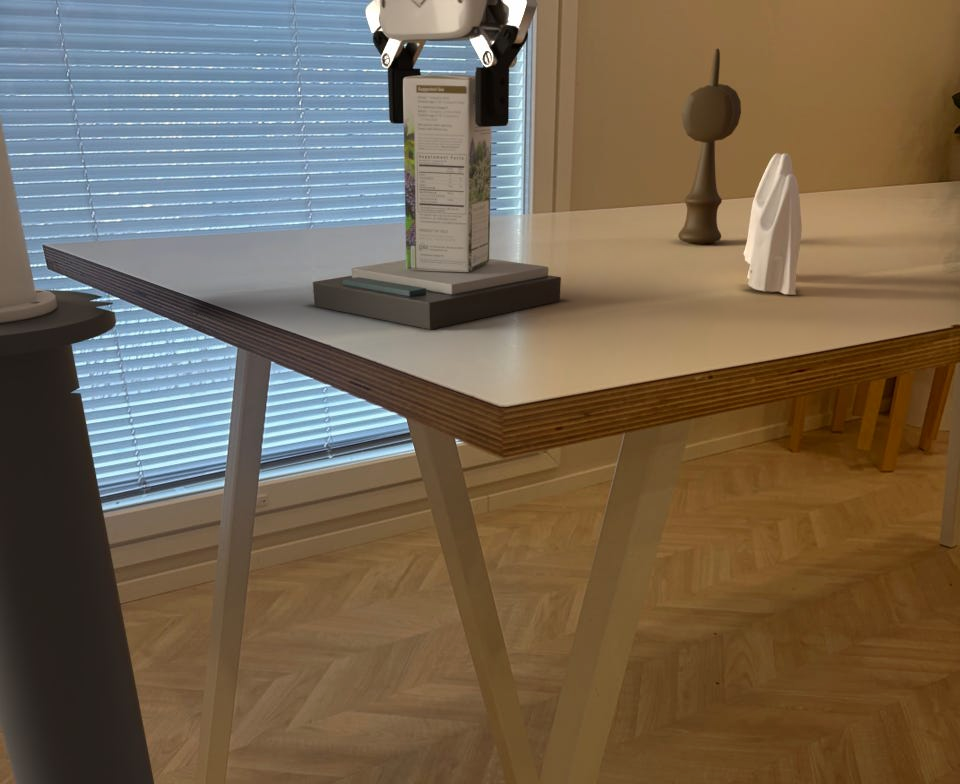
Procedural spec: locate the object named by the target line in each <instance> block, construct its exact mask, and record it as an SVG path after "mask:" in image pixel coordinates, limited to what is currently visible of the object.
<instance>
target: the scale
mask: <svg viewBox="0 0 960 784" xmlns="http://www.w3.org/2000/svg"><path fill="white" fill-rule="evenodd" d="M561 284H562V277H561V276H556V275H549V266H546V265H538V264H531V263H524V262H516V261H510V260H509V261H508V260H501V259H496V258H495V259H493V258H489V262H488V263H486V264H484V265H482V266H480V267H478V268H476V269H474V270H472V271H470V272H446V271H424V270H408V268H407V267H406V259H403V260H396V261H389V262H383V263H378V264H370V265H364V266H357V267H351V275H347V276H346V275H345V276H341V277H334V278H328V279H322V280H315V281H312V291H313V292H312V293H313V304H314V307H317V308H322V309H326V310H332V311H336V312H342V313H346V314H352V315H356V316H360V317H361V316H362V317H365V318H370V319H371V318H372V319H376V320H380V321H386V322H391V323H397V324H401V325H406V326H411V327H416V328H421V329H426V330H435V329H438V328H443V327H448V326H452V325H457V324H462V323H466V322H469V321H474V320H475V321H476V320H480V319H483V318H488V317H494V316H497V315H502V314H506V313H507V314H508V313H511V312H516V311H520V310H524V309H529V308H534V307H539V306H545V305H547V304H553V303H557V302H560V301H561V287H562V286H561Z"/></svg>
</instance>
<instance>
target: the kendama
mask: <svg viewBox="0 0 960 784" xmlns="http://www.w3.org/2000/svg"><path fill="white" fill-rule="evenodd" d="M720 66H721V51H720V49H719V48H716V49H715V50H714V52H713V56H712V63H711V70H710V71H711V72H710V79H709V84H707V85H705V86H702V87H701V86H700V87H699V88H697V89H696V90H694V91H692V92H691V93H690V94H689V96H688V97H687V99H686V101H685V102H684V105H683V110H682V113H681V117H682V127H683V129H684V131H685V133H686V135H687V136H688V137H689V138H690V139H692V140H693V141H695V142H700V143H701V147H700V153H699V157H698V162H697V166H696V171H695V176H694V179H693V183H692V186H691V189H690V191H689V193H688V195H686V197H685V198H684V204H685V205H686V216H685V222H684V225H683V227H682V228H681V230H680V231H679V232H678V235H677V236H678V239H679V240H680V241H681V242H685V243H688V244H689V243H690V244H713V243H716V242H718V241H720V240H721V239H722V233H721V232H720V230H719V227H718V210H719V207H720V205H721V204H722V203H723V200H722V199H723V198H721V196H720V195H719V193H718V188H717V187H718V186H717V177H716V176H717V175H716V142H717V141H723V140H724V139H726V138H728V137H730V136H731V135H733V133H734V131H735V130H736V128H737V127H738V125H739V122H740V119H741V114H742V104H741V103H742V102H741V99H740V97H739V94H738V92H737V91H736V90H735V89H734V88H733V87H731V86H729V85H728V84H724V83H723V84H722V83H719V81H720V68H721V67H720Z"/></svg>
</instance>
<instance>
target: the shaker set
mask: <svg viewBox="0 0 960 784" xmlns="http://www.w3.org/2000/svg"><path fill="white" fill-rule="evenodd" d="M793 169H794V167H793V161H792V157H791V155H790V154H789V153H787V152H783V153H782V154H781V153H779V152H776V153H775V154H773V156H772V157H771V159H770V160H769V162H768V164H767V166H766V167H765V170H764V172H763V174H762V177H761V179H760V181H759V184H758V186H757V188H756V191H755V194H754V197H753V201H752V205H751V212H750V218H749V225H748V233H747V240H746V244H745V248H744V251H743V256H744V261H745V262H746V263H747V264H748V265H749V268H748V272H747V275H746V279H748V283H747V286H749V287H750V288H752V290H756V291H757V290H758V291H761V292H762V291H763V292H764V293H765V292H769V293H770V292H771V293H772V292H773V293H774V292H778V293H781V294H783V295H786V296H787V295H788V296H789V295H791V296H793V295H794V296H795V295H797V293H796V289H797V288H796V285H797V267H798V261H799V255H800V247H801V239H802V230H803V225H802V224H803V223H802V213H801V200H800V191H799V190H800V189H799V183H798V179H797V177H796V175H795V174H794V170H793Z"/></svg>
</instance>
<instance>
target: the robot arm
mask: <svg viewBox="0 0 960 784" xmlns="http://www.w3.org/2000/svg"><path fill="white" fill-rule="evenodd" d="M537 7H538V0H371V2H369V3H368V4H367V6H366V7H365V10H364V11H365V12H364V13H365V18H366V20H367V23H368V27H369V29H370V32H371V35H372V41H373V42H372V43H373V45H374V47H375V49H376V50H377V52H378V53H379V55H380V61H381V62H380V63H381V65H382V67H383V68H384V69H387V92H388V118H389V122H390V123H391V124H395V125H398V124H400V125H401V124H403V125H404V111H403V79H404V78H405V77H409V76H418V75H422V73H421V68H414V67H415V65H416V64H417V63H416V62H417V61H418V59H419V56H420V55H421V53H422V51H423V49H424V47H425V44H426V42H428V41H429V42H462V41H469V42H470V44H471V45H472V47H473V49H474V51H475V52H476V54H477V57H478V58H479V60H480V62H481V64H482V66H480V67H479V66H477V67H475V72H474V73H475V75H474V76H475V122H476V124H477V125H478V126H479V127H491V128H492V127H506V126H507V125H508V124H509V117H510V116H509V114H510V113H509V111H510V110H509V109H510V101H509V100H510V69H511V68H514V67H515V66H516V64H517V62H518V55H519V53H520V51H521V50H522V48H523V47H524V45H525V44H526V42H527V40H528V38H529V32H528V29H530V27H531V25H532V22H533V19H534V16H535V13H536V10H537ZM405 44H406V45H405ZM14 181H15V180H14V177H13V172H12V166H11V161H10V157H9V151H8V146H7V142H6V136H5V131H4V126H3V121H2V117H1V115H0V324H2V323H9V322H16V321H22V320H27V319H32V318H35V317H39V316H43V315H46V314H48V313H51V312H52V311H54V310H55V309H56V308H57V302H56V296H55V295H54V294H53V293H52V292H49V291H46V290H47V289H41V288H36V286H35V281H34V276H33V272H32V266H31V261H30V257H29V252H28V247H27V242H26V237H25V232H24V226H23V221H22V217H21V211H20V206H19V201H18V197H17V191H16V187H15V182H14Z"/></svg>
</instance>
